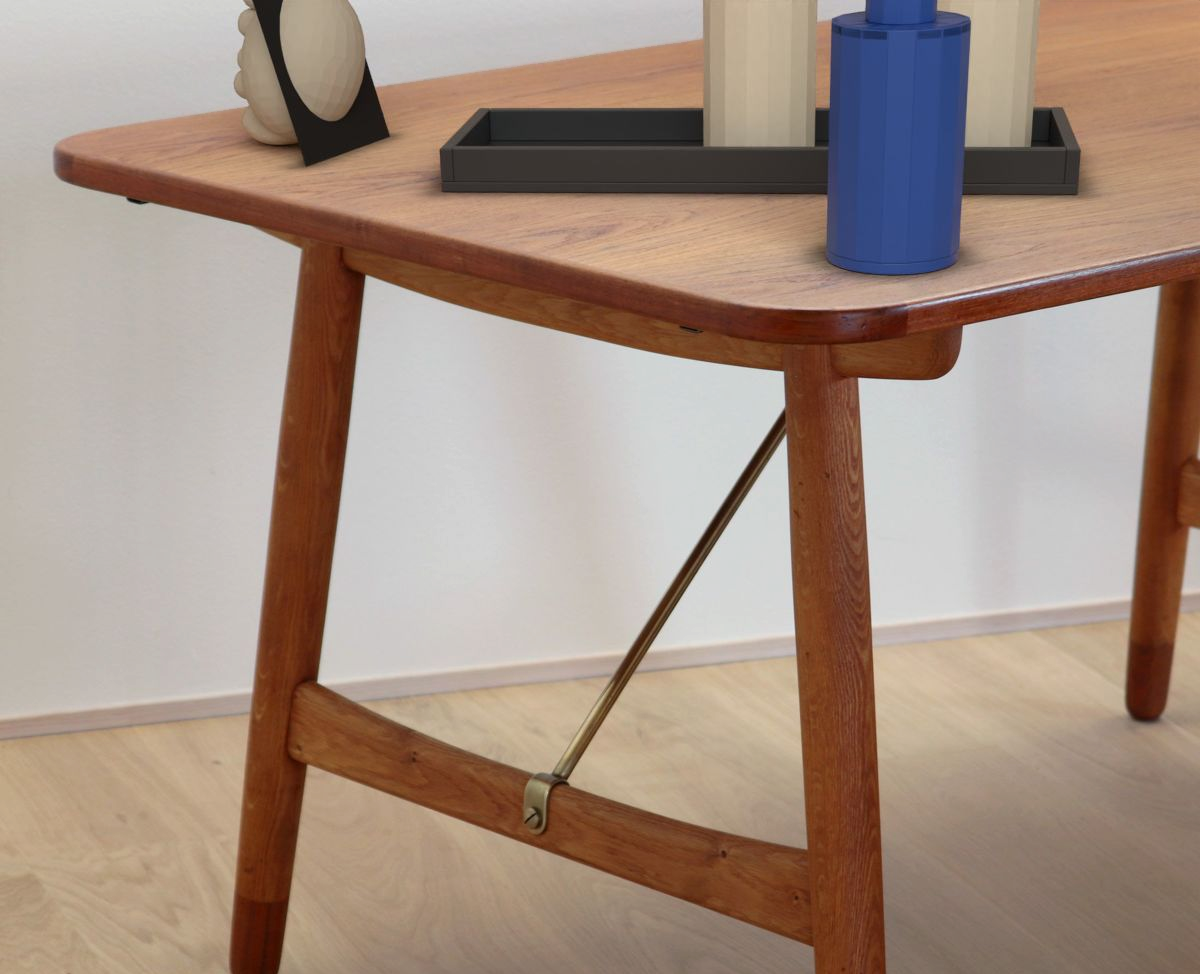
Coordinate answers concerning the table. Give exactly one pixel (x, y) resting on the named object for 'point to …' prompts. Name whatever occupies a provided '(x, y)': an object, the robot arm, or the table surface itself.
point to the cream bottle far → (999, 70)
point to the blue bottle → (896, 137)
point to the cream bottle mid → (759, 73)
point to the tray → (703, 155)
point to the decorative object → (307, 77)
